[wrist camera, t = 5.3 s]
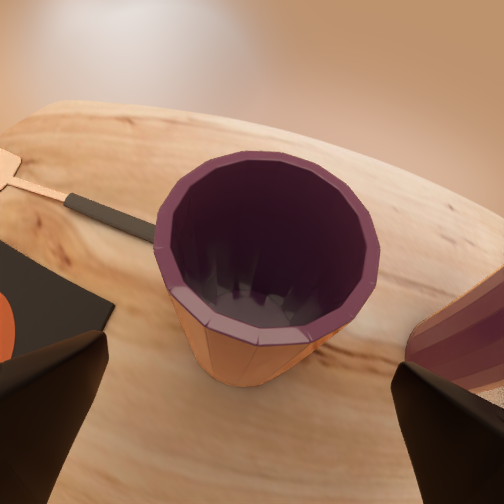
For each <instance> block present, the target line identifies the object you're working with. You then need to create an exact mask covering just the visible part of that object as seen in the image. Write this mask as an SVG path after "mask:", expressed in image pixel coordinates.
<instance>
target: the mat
mask: <svg viewBox="0 0 504 504" xmlns="http://www.w3.org/2000/svg"><path fill="white" fill-rule="evenodd" d="M114 307H115V305H114V304H113V303H111V302H109V301H107V300H105V299H103V298H101V297H99V296H97V295H95V294H93V293H91V292H89V291H87V290H85V289H83V288H81V287H79V286H78V285H76V284H74V283H72V282H70V281H68V280H66V279H65V278H63V277H61V276H59V275H57V274H56V273H54V272H52V271H50V270H48V269H47V268H45V267H43V266H42V265H40V264H38V263H36V262H35V261H33V260H31V259H30V258H28V257H26V256H25V255H23V254H21V253H20V252H18V251H17V250H15V249H13V248H12V247H10V246H9V245H7V244H5V243H4V242H2V241H1V240H0V362H2V363H3V361H6V360H9V359H12V358H15V357H17V356H20V355H23V354H26V353H29V352H32V351H35V350H37V349H40V348H43V347H46V346H49V345H52V344H55V343H57V342H60V341H63V340H66V339H69V338H71V337H74V336H77V335H80V334H82V333H85V332H88V331H91V330H97V331H101V332H102V331H103V328H104V326H105V324H106V322H107V320H108V318H109V316H110V314H111V312H112V310H113V309H114Z"/></svg>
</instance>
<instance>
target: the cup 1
mask: <svg viewBox="0 0 504 504" xmlns="http://www.w3.org/2000/svg"><path fill="white" fill-rule="evenodd" d="M153 250H154V255H155V258H156V261H157V263H158V266H159V269H160V272H161V274H162V277H163V280H164V283H165V285H166V288H167V291H168V293H169V296H170V298H171V301H172V303H173V306H174V308H175V311H176V313H177V316H178V318H179V320H180V323H181V325H182V328H183V330H184V332H185V335H186V337H187V339H188V342H189V344H190V346H191V348H192V351H193V353H194V355H195V357H196V360H197V362H198V363H199V365H200V366H201V367H202V368H203V369H204V370H205V371H206V372H207V373H208V374H209V375H211V376H212V377H213V378H215V379H217V380H218V381H221V382H223V383H225V384H228V385H232V386H238V387H250V386H258V385H261V384H263V383H265V382H268V381H270V380H271V379H273V378H275V377H278V376H279V375H281V374H282V373H283V372H285V371H286V370H288V369H289V368H291V367H292V366H293V365H295V364H296V363H298V362H299V361H300V360H302V359H303V358H305V357H306V356H307V355H309V354H310V353H311V352H313V351H314V350H315V349H317V348H318V347H319V346H321V345H322V344H323V343H325V342H326V341H327V340H329V339H330V338H331V337H332V336H334V335H335V334H336V333H338V332H339V331H340V330H341V329H343V328H344V327H345V326H346V325H348V324H349V323H350V322H351V321H352V320H353V319H354V318H355V317H356V315H357V314H358V312H359V311H360V310H361V308H362V307H363V305H364V304H365V302H366V301H367V299H368V298H369V296H370V295H371V293H372V292H373V290H374V289H375V286H376V282H377V275H378V267H379V258H380V245H379V241H378V238H377V235H376V231H375V228H374V225H373V222H372V219H371V216H370V214H369V212H368V210H367V209H366V208H365V207H364V205H363V204H362V203H361V201H360V200H359V199H358V197H357V196H356V195H355V194H354V192H353V191H352V190H351V189H350V187H349V186H348V185H347V184H346V183H344V182H343V181H341V180H340V179H339V178H337V177H336V176H334V175H333V174H331V173H330V172H328V171H327V170H325V169H324V168H322V167H321V166H319V165H318V164H316V163H313V162H310V161H307V160H304V159H301V158H298V157H295V156H292V155H289V154H286V153H281V152H270V151H241V152H237V153H233V154H229V155H225V156H221V157H217V158H214V159H210V160H209V161H206V162H205V163H203V164H202V165H200V166H199V167H197V168H196V169H194V170H193V171H191V172H190V173H188V174H187V175H185V176H184V177H182V178H181V179H180V180H179V181H177V183H176V184H175V186H174V187H173V189H172V190H171V192H170V193H169V195H168V196H167V198H166V199H165V201H164V203H163V204H162V206H161V207H160V209H159V212H158V214H157V221H156V229H155V237H154V245H153Z"/></svg>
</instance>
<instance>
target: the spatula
mask: <svg viewBox="0 0 504 504" xmlns="http://www.w3.org/2000/svg"><path fill="white" fill-rule="evenodd" d="M20 164H21V158H20V157H18V156H16V155H14V154H12V153H10V152H8V151H6V150H4V149H1V148H0V190H2V189H3V188H4V187H5V186H6V185H7V184H9V185H12V186H15V187H18V188H21V189H25V190H28V191H31V192H34V193H37V194H40V195H43V196H47V197H50V198H53V199H56V200H59V201H62V202H64V206H66V207H68V208H71V209H73V210H75V211H78V212H80V213H82V214H85V215H87V216H89V217H92V218H94V219H96V220H99V221H101V222H104V223H106V224H108V225H111V226H113V227H116V228H118V229H120V230H123V231H125V232H128V233H130V234H133V235H135V236H138V237H140V238H142V239H145V240H147V241H150V242H152V243H154V237H155V229H156V225H154V224H151V223H148V222H146V221H143V220H141V219H138V218H135V217H133V216H130V215H128V214H125V213H122V212H120V211H117V210H115V209H112V208H110V207H107V206H104V205H102V204H99V203H97V202H94V201H92V200H89V199H87V198H84V197H81V196H79V195H76V194H74V193H70V194H69V195H66V194H63V193H60V192H57V191H54V190H51V189H48V188H45V187H42V186H39V185H37V184H34V183H31V182H28V181H25V180H22V179H19V178H16V177H13V176H14V175H15V173H16V171H17V169H18V167H19V165H20Z"/></svg>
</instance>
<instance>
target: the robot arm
mask: <svg viewBox="0 0 504 504" xmlns="http://www.w3.org/2000/svg"><path fill="white" fill-rule="evenodd" d="M108 360H109V353H108V345H107V337H106V334H105V333H104V332H101V331H97V330H91V331H88V332H85V333H82V334H80V335H77V336H74V337H71V338H69V339H66V340H63V341H60V342H57V343H55V344H52V345H49V346H46V347H43V348H40V349H37V350H35V351H32V352H29V353H26V354H23V355H20V356H17V357H15V358H12V359H9V360H6V361H3V363H2V362H0V504H47V502H48V499H49V497H50V494H51V492H52V490H53V487H54V485H55V483H56V480H57V478H58V476H59V473H60V471H61V469H62V466H63V464H64V462H65V460H66V458H67V455H68V453H69V451H70V449H71V447H72V444H73V442H74V440H75V438H76V436H77V434H78V432H79V430H80V428H81V426H82V424H83V422H84V419H85V417H86V415H87V413H88V411H89V409H90V407H91V405H92V403H93V401H94V399H95V396H96V393H97V391H98V388H99V385H100V382H101V380H102V377H103V374H104V372H105V369H106V366H107V364H108ZM391 392H392V396H393V400H394V404H395V409H396V413H397V417H398V422H399V426H400V429H401V432H402V435H403V438H404V441H405V444H406V447H407V450H408V453H409V456H410V460H411V463H412V466H413V469H414V472H415V476H416V479H417V482H418V486H419V489H420V493H421V496H422V500H423V504H504V409H503V408H501V407H499V406H497V405H495V404H492V403H491V402H489V401H487V400H485V399H483V398H481V397H479V396H477V395H475V394H473V393H472V392H470V391H468V390H466V389H464V388H462V387H460V386H458V385H456V384H454V383H452V382H450V381H448V380H446V379H445V378H443V377H441V376H439V375H437V374H435V373H433V372H431V371H429V370H427V369H426V368H424V367H422V366H420V365H418V364H416V363H414V362H411V361H410V362H401V363H400V364H399V366H398V368H397V370H396V373H395V375H394V377H393V380H392V382H391Z"/></svg>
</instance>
